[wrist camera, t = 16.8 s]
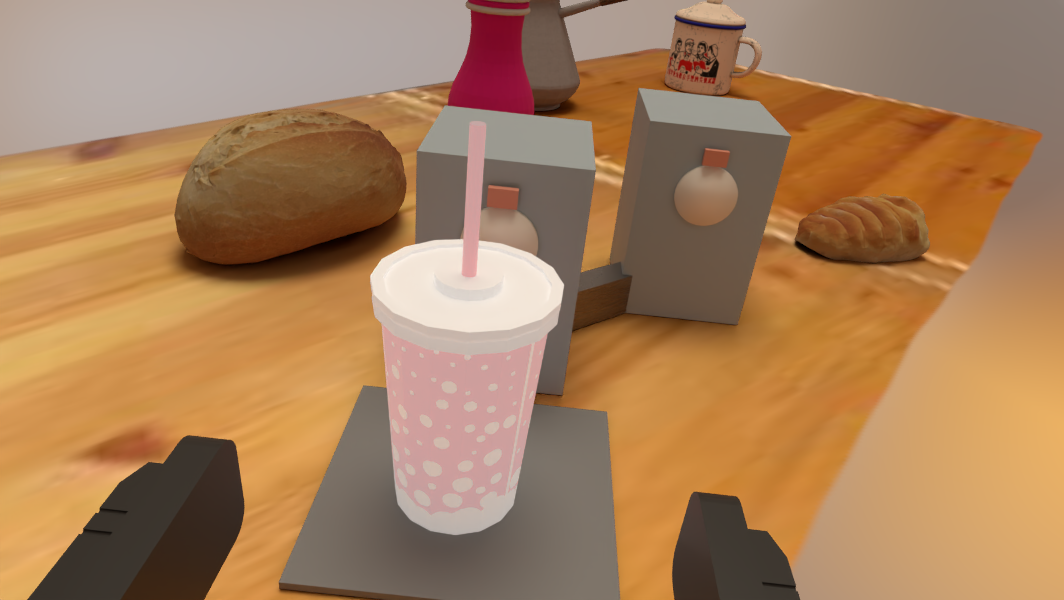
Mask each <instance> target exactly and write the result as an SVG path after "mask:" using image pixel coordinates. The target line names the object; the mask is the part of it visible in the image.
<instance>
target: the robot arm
mask: <svg viewBox="0 0 1064 600" xmlns="http://www.w3.org/2000/svg"><path fill="white" fill-rule="evenodd" d="M243 516H244V497H243V490H242V484H241V477H240V470H239V463H238V457H237V450H236V446H235V443H234V442H233V441H232V440H225V439H216V438H208V437H199V436H190V435H189V436H186V437H184V438H183V439H182V440H181V441H180V442H179V443H178V444H177V446H176V447H175V448H174V450H173V451H172V452H171V454H170V455H169V457H168V458H167V459H166V461H165V462H164V463H163V464H161V463H152V462H148V463H147V464H146V465H144V466H143V467H141V468H140V469H138V470H137V471H136V472H134V473H133V474H131V475H130V476H128V477H127V478H126V479H124V480H123V481H121V482H120V483H119V484H118V485H117V487H116V488H115V489H114V490H113V492H112V493H111V494H110V495H109V497H108V498H107V499H106V501H105V502H104V503H103V504H102V506H101V507H100V511H99V513H95V515H94V516H93V517H92V518H91V520H90V521H89V522H88V523H87V525H86V526H85V527H84V528H83V533H82V534H79V535H78V536H77V537H76V539H75V540H74V541H73V542H72V544H71V545H70V546H69V547H68V549H67V550H66V551H65V553H64V554H63V555H62V556H61V558H60V559H59V560H58V561H57V563H56V564H55V565H54V567H53V568H52V569H51V570H50V572H49V573H48V574H47V575H46V577H45V578H44V579H43V580H42V582H41V583H40V584H39V586H38V587H37V588H36V589H35V591H34V592H33V593H32V594H31V596H30V597H29V598H28V599H27V600H204V599H205V597H206V595H207V593H208V591H209V590H210V588H211V586H212V584H213V582H214V580H215V578H216V576H217V575H218V573H219V571H220V569H221V567H222V565H223V563H224V562H225V560H226V558H227V556H228V554H229V552H230V550H231V548H232V547H233V545H234V543H235V541H236V539H237V537H238V534H239V532H240V529H241V525H242V521H243ZM672 580H673V592H674V599H675V600H800V598H799V594H798V592H797V591H796V588H795V587H796V584H795V581H794V578H793V575H792V572H791V569H790V566H789V562H788V559H787V557H786V555H785V554H784V553H783V552H782V550H781V549H780V548H779V546H778V545H777V544H776V542H775V541H774V540H773V538H772V537H771V536H770V535H769V533H768V532H767V531H760V530H752V529H748V528H747V524H746V521H745V517H744V513H743V510H742V506H741V503H740V500H739V499H738V497H736V496H728V495H719V494H710V493H702V492H693V493H692V495H691V497H690V500H689V503H688V507H687V510H686V514H685V517H684V521H683V524H682V527H681V531H680V534H679V538H678V541H677V545H676V548H675V552H674V558H673V570H672Z"/></svg>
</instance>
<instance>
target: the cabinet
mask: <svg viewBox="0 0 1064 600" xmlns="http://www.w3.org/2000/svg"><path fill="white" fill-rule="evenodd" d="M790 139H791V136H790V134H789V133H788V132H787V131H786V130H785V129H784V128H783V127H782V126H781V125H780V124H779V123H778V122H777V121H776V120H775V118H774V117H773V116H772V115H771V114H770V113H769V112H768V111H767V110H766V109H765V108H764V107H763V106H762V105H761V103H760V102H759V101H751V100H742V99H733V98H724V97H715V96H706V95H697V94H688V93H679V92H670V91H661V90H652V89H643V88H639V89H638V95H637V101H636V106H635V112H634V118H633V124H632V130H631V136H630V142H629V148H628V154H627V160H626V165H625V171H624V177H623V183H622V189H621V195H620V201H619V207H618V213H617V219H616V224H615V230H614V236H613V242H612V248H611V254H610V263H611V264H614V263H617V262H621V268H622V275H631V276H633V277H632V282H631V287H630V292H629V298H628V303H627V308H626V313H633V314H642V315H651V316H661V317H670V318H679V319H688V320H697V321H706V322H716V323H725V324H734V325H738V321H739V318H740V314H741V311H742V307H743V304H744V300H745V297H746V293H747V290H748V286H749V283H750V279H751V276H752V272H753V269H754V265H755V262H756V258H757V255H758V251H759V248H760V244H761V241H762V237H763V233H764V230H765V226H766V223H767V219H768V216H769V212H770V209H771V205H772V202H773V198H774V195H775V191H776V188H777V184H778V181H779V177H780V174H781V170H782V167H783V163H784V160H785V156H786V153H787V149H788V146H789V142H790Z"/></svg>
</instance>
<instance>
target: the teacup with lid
mask: <svg viewBox="0 0 1064 600" xmlns="http://www.w3.org/2000/svg"><path fill="white" fill-rule="evenodd" d="M722 1H723V0H707V2H700V3H697V4H695V5H694V6H692V7H690V8H686V9H681V10H679V11H678V12H677V13H676V16H675V19H676V22H675V28H674V33H673V38H672V44H671V49H670V54H669V60H668V65H667V71H666V76H665V83H666V85H667V86H669V87H671V88H673V89H675V90H678V91H682V92H686V93H691V94H698V95H708V96H717V95H724V94H726V93H727V92H728V91H729V89H730V85H731V80H732V77H733V78H742V77H746V76H748V75H749V74H751V73H752V72H753V71H754V70H755V69H756V67H757V66H758V64H759V62H760V60H761V56H762V51H761V47H760V45H759V44H758V42H756V41H755V40H754V39H751V38H747V37H742V33H743V29H745V28H746V25H745V24H746V22H745V19H744V18H742V17H740V16H738V15H737V14H735V13H734V12H733V11H732V10H731V9H730V8H729V7H728V6H726V5H724V4H721V3H722ZM740 43H745V44H749V45H750V46H752V48H753V49H754V51H755V57H754V61H753V63H752V65H751V66H750V67H749V68H748V69H747V70H746V71H744V72H734V68H735V63H736V59H737V54H738V50H739V46H740Z"/></svg>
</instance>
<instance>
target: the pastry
mask: <svg viewBox="0 0 1064 600" xmlns="http://www.w3.org/2000/svg"><path fill="white" fill-rule="evenodd" d="M795 241H799V242H801V243H802V244H803V245H805V246H807V247H808V248H810V249H812V250H814V251H816V252H818V253H820V254H821V255H823V256H825V257H828V258H831V259H833V260H850V261H860V262H865V263H876V262H892V261H905V260H912V259H915V258H917V257H919V256H920V255H922V254H924V253H925V252H927V250H928V249H929V246H930V242H929V239H928V228H927V226H926V223H925V214H924V212H923V210H922V209H921V208H920V207H919V206H918V205H917V204H916V203H915V202H913V201H911V200H910V199H908V198H906V197H899V196H893V197H891V196H889V195H886V194H882V195H880V196H879V197H878V198H875V197H869V196H865V197H851V196H850V197H846V198H841V199H839V200H838V201H836V202H835V203H833V204H831V205H829V206H826V207H824V208H821V209H818V210H817V211H815V212H814V213H811V214H809V215H808V216H807V217H806V218H804V219H802V220H801V221H800V223H799V227H798V233H797V235H796V238H795Z"/></svg>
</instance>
